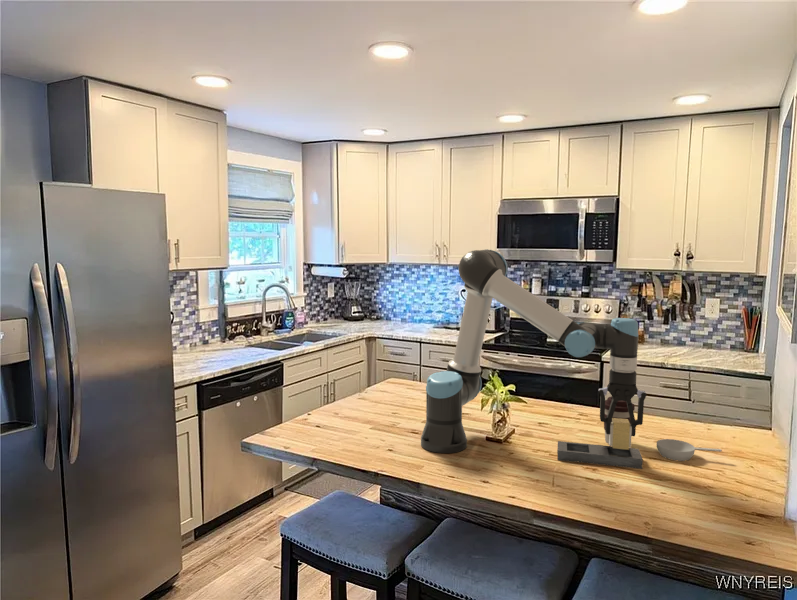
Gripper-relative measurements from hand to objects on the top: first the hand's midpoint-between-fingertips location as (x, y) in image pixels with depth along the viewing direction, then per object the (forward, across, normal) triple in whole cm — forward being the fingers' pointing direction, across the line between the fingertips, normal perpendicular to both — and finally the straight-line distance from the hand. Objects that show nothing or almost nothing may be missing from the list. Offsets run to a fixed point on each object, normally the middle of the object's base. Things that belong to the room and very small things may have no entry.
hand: (619, 445), depth 167 cm
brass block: (0, 0, 0) cm, 0 cm away
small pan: (+6, +21, +10) cm, 24 cm away
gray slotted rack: (+5, -6, 0) cm, 8 cm away
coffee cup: (+5, +1, +16) cm, 17 cm away
